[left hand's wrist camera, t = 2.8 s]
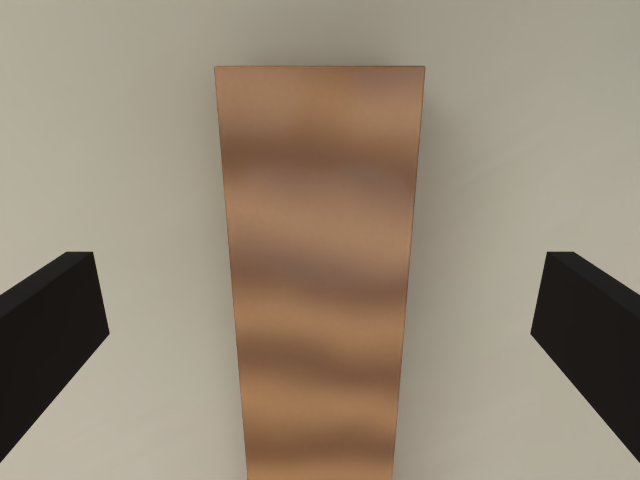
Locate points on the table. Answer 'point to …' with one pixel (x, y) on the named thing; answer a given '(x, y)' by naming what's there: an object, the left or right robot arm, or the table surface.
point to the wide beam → (319, 259)
